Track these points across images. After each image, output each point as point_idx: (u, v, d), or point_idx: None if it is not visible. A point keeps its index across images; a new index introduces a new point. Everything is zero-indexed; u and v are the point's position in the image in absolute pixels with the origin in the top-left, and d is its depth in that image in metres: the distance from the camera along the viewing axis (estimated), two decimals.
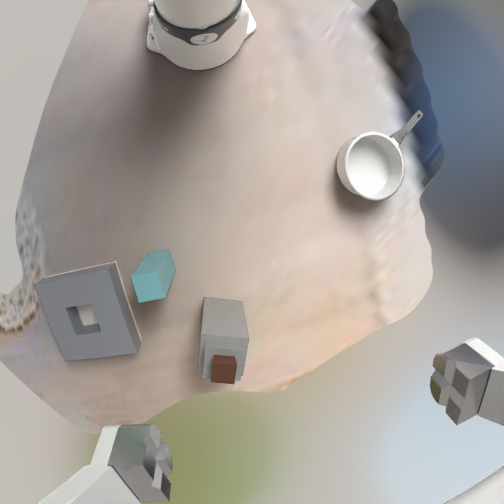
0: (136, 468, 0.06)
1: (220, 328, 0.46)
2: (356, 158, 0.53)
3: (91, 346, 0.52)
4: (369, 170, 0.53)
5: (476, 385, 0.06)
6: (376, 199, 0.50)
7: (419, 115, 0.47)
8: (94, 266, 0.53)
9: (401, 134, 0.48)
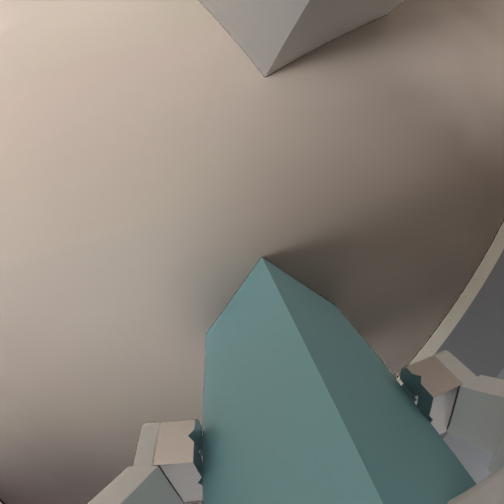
0: (185, 466, 0.06)
1: None
2: None
3: None
4: None
5: (442, 403, 0.06)
6: None
7: None
8: None
9: None
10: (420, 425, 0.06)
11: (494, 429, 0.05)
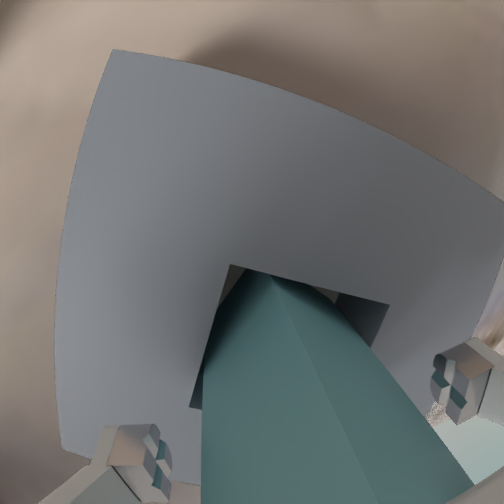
0: (136, 468, 0.06)
1: None
2: None
3: (362, 213, 0.09)
4: None
5: (476, 385, 0.06)
6: None
7: None
8: None
9: None
10: (401, 402, 0.07)
11: None
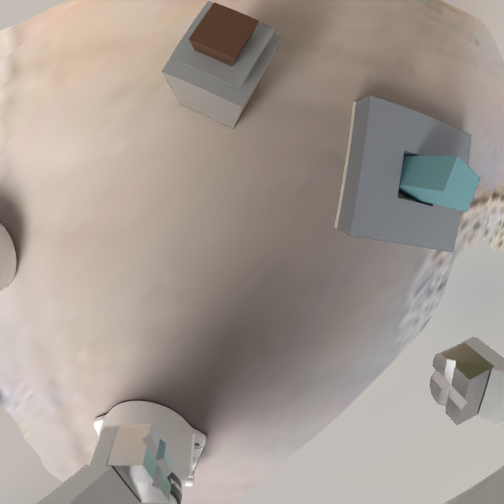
0: (136, 468, 0.06)
1: (209, 98, 0.24)
2: None
3: (428, 137, 0.32)
4: None
5: (476, 385, 0.06)
6: None
7: None
8: None
9: None
10: None
11: None
